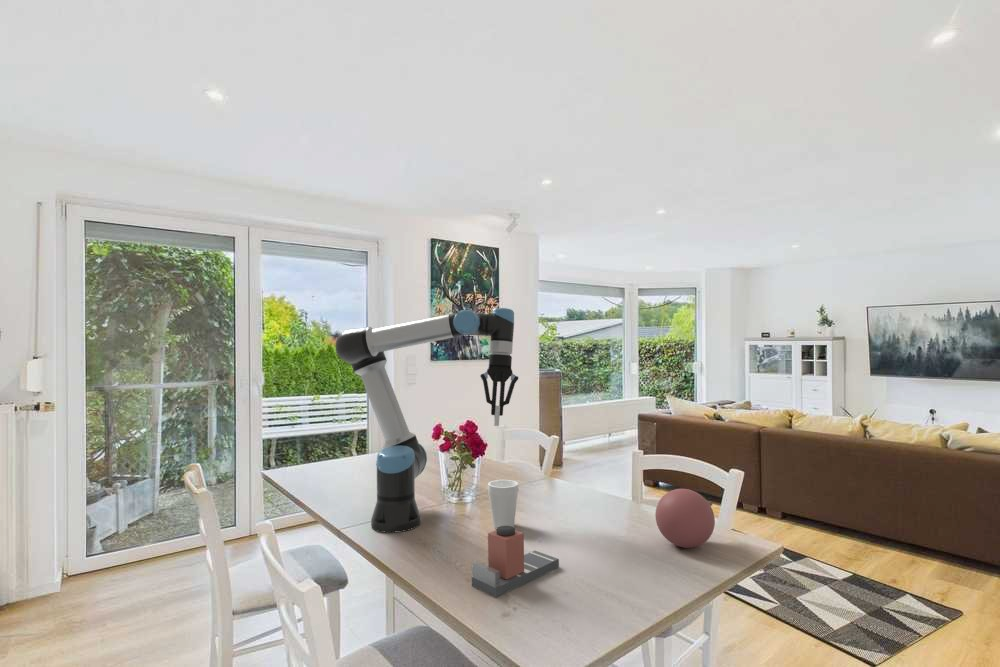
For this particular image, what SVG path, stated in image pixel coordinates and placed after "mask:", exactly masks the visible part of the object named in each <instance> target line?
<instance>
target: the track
mask: <svg viewBox="0 0 1000 667" xmlns="http://www.w3.org/2000/svg"><path fill="white" fill-rule="evenodd" d="M471 566H472V567H471V568H472V570H471V571H472V575H471V576H472V577H471V586H472V587H473V588H475V589H478V590H480V591H481V592H484V593H485V594H488V595H491V596H492V597H494V598H497V597H500V596H502V595H503V594H504V595H505V594H506V593H508V592H510V591H513V590H514V589H516V588H518V587H520V586H523V585H524V584H526V583H529V582H531V581H533V580H535V579H537V578H539V577H541V576H544V575H545V573H546V574H547V572H548V573H549V571H550V572H552V571H554V570H556V569H557V568H559V567H560V561H559V558H557V557H554V556H551V555H549V554H546V553H543V552H540V551H538V550H532V551H529V552H528V553H526V554H525V553H524V572H522V573H520V574H518V575H515V576H513V577H511V578H509V579H507V580H506V579H504V578H502V577H500V571H498V570H496V569H494V568H491V567H489V566H488V564H487V565H486V564H484V563H481V562H479V561H475V562H472V564H471ZM551 570H552V571H551Z"/></svg>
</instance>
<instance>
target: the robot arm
mask: <svg viewBox="0 0 1000 667" xmlns="http://www.w3.org/2000/svg"><path fill="white" fill-rule="evenodd" d="M514 329H515V312H514V311H513V309H511V308H508V307H507V308H506V307H495V308H493V309H492V311H491V313H477V312H475V311H473V310H470V309H462V310H459V311H458V312H453V313H447V314H443V315H438V316H433V317H428V318H422V319H418V320H413V321H409V322H404V323H398V324H394V325H393V324H392V325H387V326H383V327H378V328H373V327H371V326H366V327H362V328H360V327H359V328H349V329H346V330H344V331H343V332H341V333H340V334H339V335H338V336H337V338H336V341H335V351H336V354H337V356H338V358H339V359H340V360H342V361H343V362H344V363H347V364H350V365H351V367H352V368H351V369H352V370H353V373H354V374H355V375H358V376H360V378H361V381H362V384H363V385H364V389H365V391H366V393H367V394H366V395H367V396H368V399H369V402H370V404H371V407H372V409H373V412H374V415H375V418H376V421H377V422H378V425H379V428H380V431H381V433H382V436H383V439H384V445H383V447H382V449H381V450H379V452H378V453H377V455H376V462H375V465H376V466H375V467H376V502H375V506H374V510H373V512H372V515H371V520H370V521H371V523H370V524H371V526H372V527H371V528H372V529H373V528H374V529H375V531H377V530H378V531H377V532H381V531H385V532H384V533H396V532H395V531H401V532H404V531H403V530H406V531H409V530H408V529H410V530H412V529H411V528H413V529H415V528H417V527H419V526H420V524H421V514H420V511H419V507H418V505H417V502H416V498H415V488H416V487H415V480H416V478H417V477H418V476H420V475H421V473H423V471H424V470H425V468H426V465H427V462H428V455H427V451H426V449H425V447H424V446H423V445H422V444H421V443H419V440H418V439H417V436H416V434H415V433H414V432H411V431H410V430H409V427H408V425H407V422H406V419H405V417H404V413H403V411H402V410H401V409H402V408H401V406H400V404H399V401H398V399H397V396H396V394H395V390H394V388H393V385H392V383H391V380H390V377H389V375H388V372H387V370H386V364H387V360H388V359H387V357H386V355H385V352H387V351H391V350H396V349H397V350H398V349H402V348H407V347H412V346H416V345H422V344H423V345H424V344H426V343H427V344H428V343H432V342H433V343H434V342H436V341H437V342H438V341H442V340H447V339H453V338H457V337H463V336H481V337H482V336H483V337H490V341H489V342H490V343H489V344H490V345H489V352H490V355H489V356H488V358H489V359H488V368H487V369H486V371H485V372H484V373H482V374H480V375H479V376H480V378H481V381H482V382H483V384H482V385H483V389H484V396H485V401H486V403H487V404H490V406H491V409H490V415H491V416H493V426H495V427H499V426H500V416H503V415H504V406H506V405H509V404H510V402H511V398H512V395H513V391H514V388H515V384H516V383H517V381H518V380H519V376H517V375H516V374H514V373H513V369H512V360H513V358H512V354H513V342H514V340H513V339H514V332H515V331H514ZM488 376H489V377H488ZM488 378H490V379H491V380H492V391H491V395H490V389H489V383H488ZM509 379H510V384H509V387H508V390H507V393H506V396H505V392H506V391H505V388H506V382H507V381H508V380H509ZM498 383H500V384H499V385H500V387H499V388H500V391H499V402H498V405H497V393H498V392H497V390H498ZM416 526H417V527H416ZM414 527H415V528H414ZM374 529H373V530H374Z"/></svg>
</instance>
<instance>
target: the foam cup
mask: <svg viewBox="0 0 1000 667" xmlns="http://www.w3.org/2000/svg"><path fill="white" fill-rule="evenodd" d="M518 492H519V482H518V481H515V480H513V479H511V480H510V479H496V480H492V481H489V482H487V493H488V498H489V504H490V511H491V512H490V513H491V519H492V520H491V521H492V526H493V528H494V527H495V528H494V529H496V528H498V527H500V526H512V527H513V526H514V527H515V520H516V511H517V503H518V502H517V501H518V494H519V493H518Z"/></svg>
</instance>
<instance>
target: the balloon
mask: <svg viewBox="0 0 1000 667" xmlns="http://www.w3.org/2000/svg"><path fill="white" fill-rule="evenodd" d="M712 506H713V502H711V501H708V500H707V499H706V498H705V497H704V496H703V495H702V494H700V493H699V492H697V491H694V490H692V489H688V488H675V489H673V490H669V491H668V492H666V493H665V494H664V495H662V496H661V498H660V499H659V501H658V502H657V505H656V509H655V522H656V526H657V528H658V530H659V532H660V533H661V535H662V536H663V538H664V539H666V541H668V542H670V543H671V544H672V545H674V546H677V547H681V548H684V549H685V548H686V549H689V548H690V549H691V548H692V549H693V548H697V547H699V546H701V545H703V544H705V543H706V542H707V541H709V539H710V538H711V537H712V534H713V533H714V529H715V525H716V524H715V523H716V518H715V514H714V510H713V508H712Z"/></svg>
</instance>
